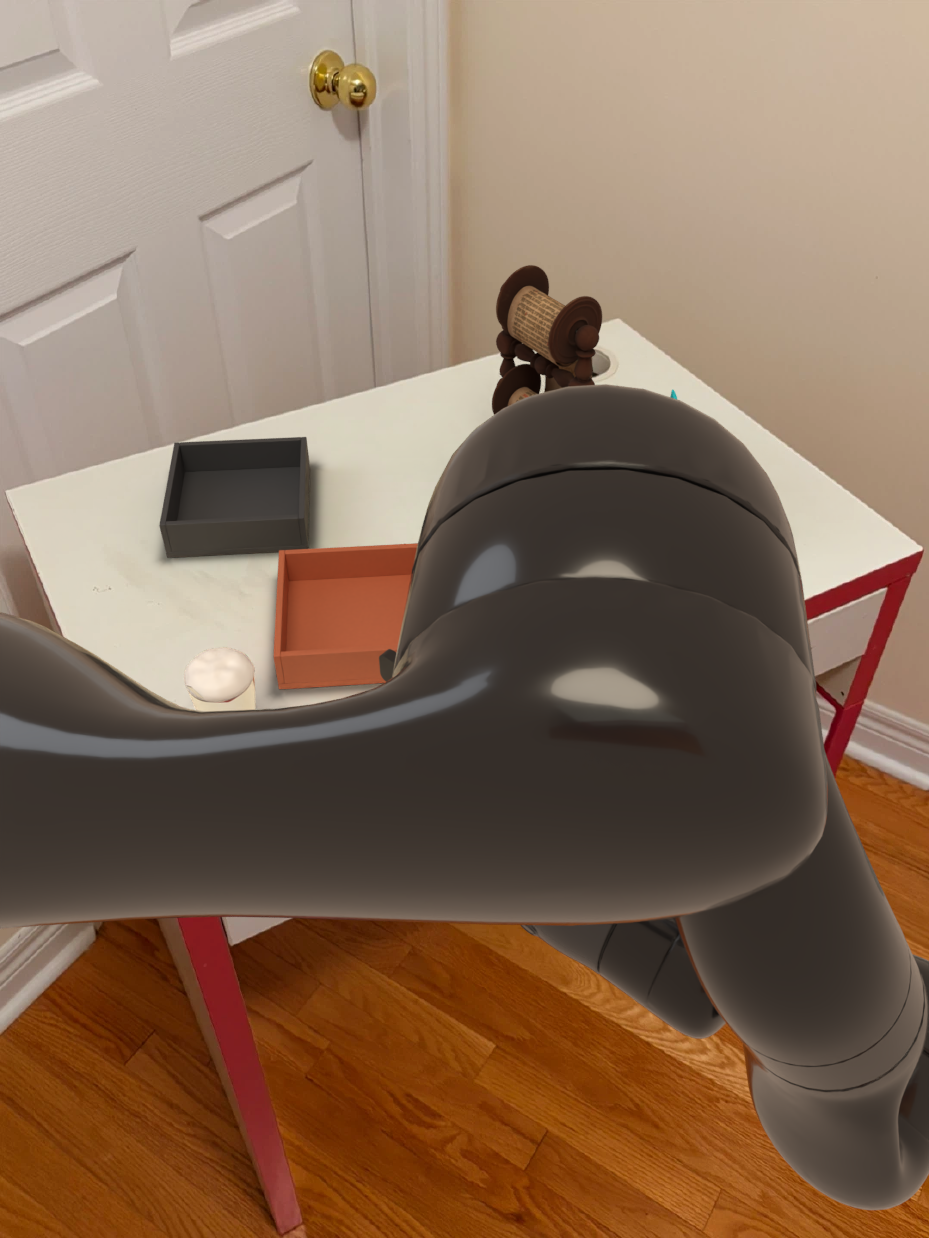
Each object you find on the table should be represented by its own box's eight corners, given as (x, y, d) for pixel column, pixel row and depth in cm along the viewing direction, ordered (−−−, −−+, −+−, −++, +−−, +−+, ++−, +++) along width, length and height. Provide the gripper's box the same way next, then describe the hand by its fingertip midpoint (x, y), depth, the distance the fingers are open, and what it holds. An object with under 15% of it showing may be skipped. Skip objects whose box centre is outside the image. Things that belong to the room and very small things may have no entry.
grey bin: (167, 558, 90) (159, 525, 87) (181, 474, 98) (174, 442, 96) (308, 550, 91) (304, 518, 88) (310, 468, 99) (306, 436, 97)
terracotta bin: (278, 689, 79) (273, 656, 76) (283, 582, 88) (278, 550, 85) (437, 679, 80) (437, 646, 77) (427, 575, 88) (426, 542, 86)
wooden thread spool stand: (648, 493, 97) (681, 291, 83) (525, 555, 90) (539, 347, 76) (544, 421, 105) (559, 226, 91) (425, 473, 99) (421, 272, 85)
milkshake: (185, 772, 73) (157, 676, 66) (225, 718, 77) (203, 621, 70) (241, 793, 72) (219, 696, 65) (280, 737, 76) (263, 640, 69)
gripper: (648, 727, 54) (412, 590, 61) (472, 920, 46) (226, 736, 53) (632, 813, 59) (416, 677, 66) (471, 999, 51) (247, 822, 59)
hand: (332, 704), depth 60 cm, fingers open, 8 cm apart
